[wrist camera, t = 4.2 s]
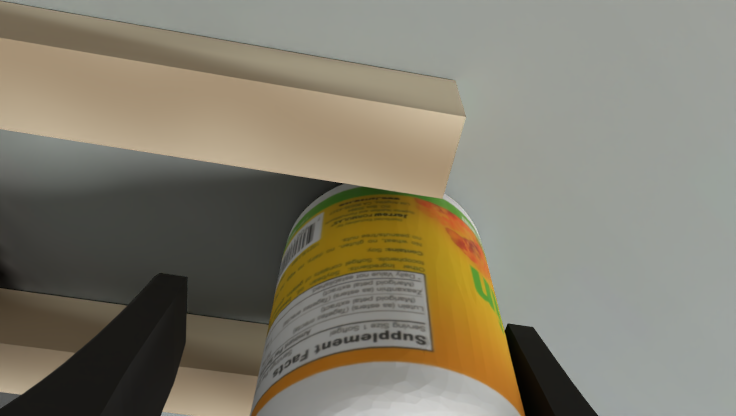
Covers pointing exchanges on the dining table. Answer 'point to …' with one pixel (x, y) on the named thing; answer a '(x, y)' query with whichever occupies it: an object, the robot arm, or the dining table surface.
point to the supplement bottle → (385, 314)
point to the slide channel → (204, 156)
